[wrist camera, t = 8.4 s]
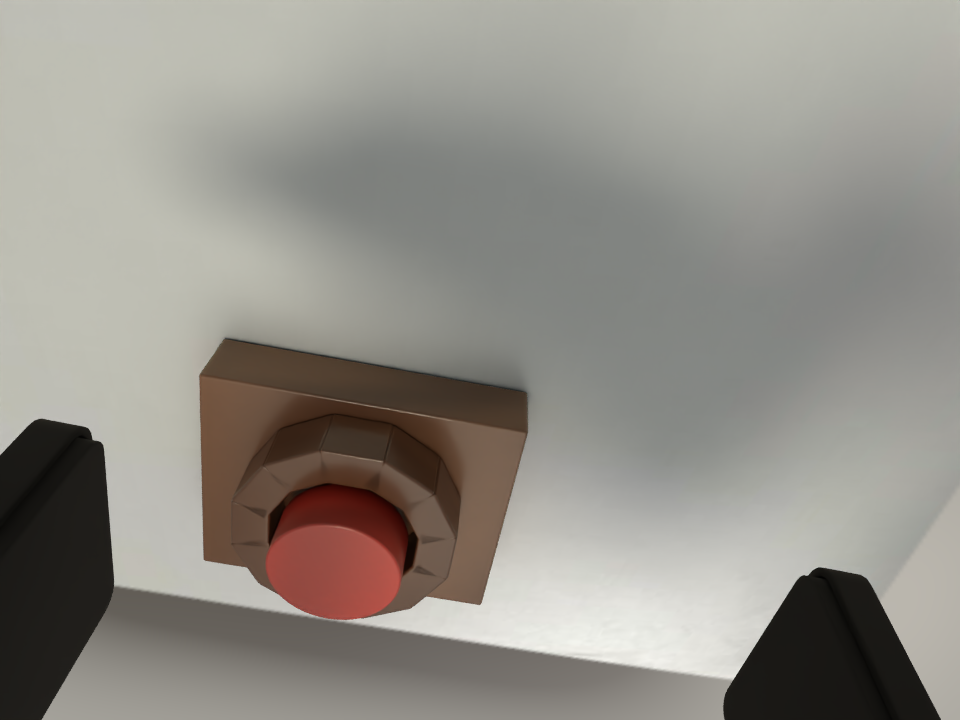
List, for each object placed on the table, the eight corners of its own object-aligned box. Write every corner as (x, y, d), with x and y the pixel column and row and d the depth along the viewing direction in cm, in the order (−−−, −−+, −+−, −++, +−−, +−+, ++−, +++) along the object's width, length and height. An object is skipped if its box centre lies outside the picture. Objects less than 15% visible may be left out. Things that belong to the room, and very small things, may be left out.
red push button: (416, 495, 22) (409, 537, 21) (400, 585, 24) (392, 630, 23) (283, 472, 22) (266, 514, 20) (278, 565, 24) (262, 609, 22)
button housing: (527, 391, 24) (529, 470, 21) (483, 560, 28) (478, 649, 25) (223, 337, 24) (173, 409, 20) (223, 517, 28) (182, 602, 24)
